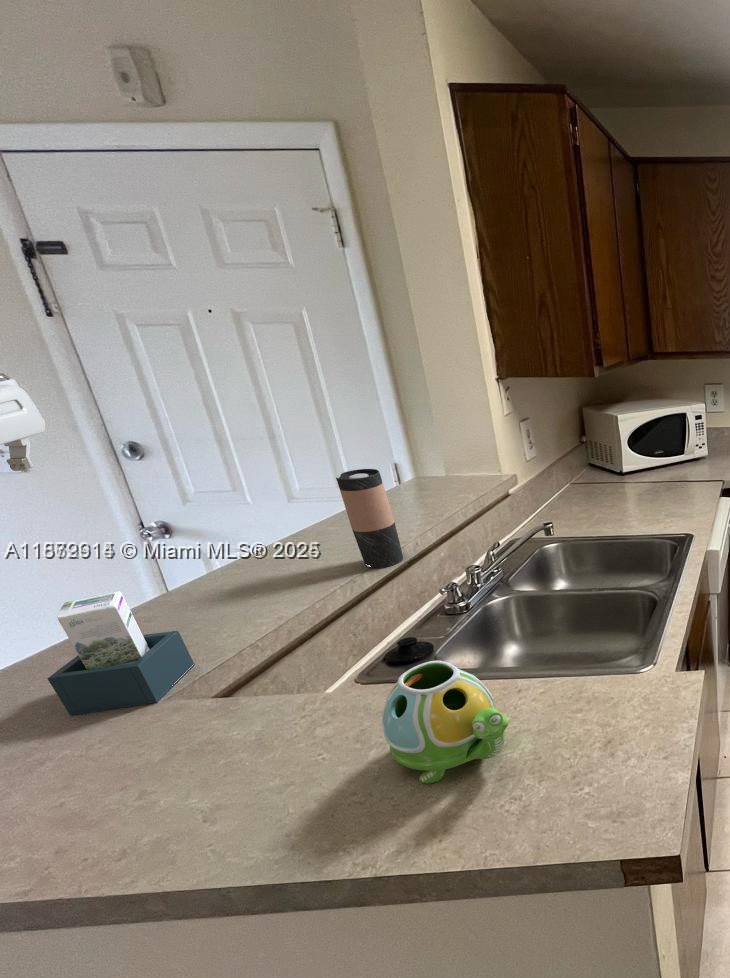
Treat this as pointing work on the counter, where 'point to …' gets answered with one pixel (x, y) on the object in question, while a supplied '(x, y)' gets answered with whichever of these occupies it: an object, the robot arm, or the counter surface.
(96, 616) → the syrup box
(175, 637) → the box
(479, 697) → the turtle holder
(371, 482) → the travel mug
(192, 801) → the counter surface
